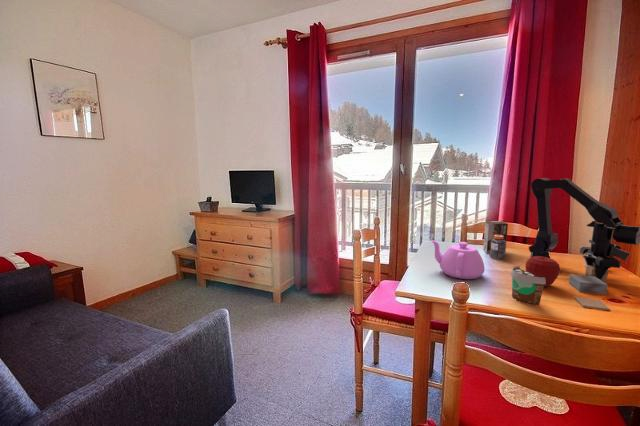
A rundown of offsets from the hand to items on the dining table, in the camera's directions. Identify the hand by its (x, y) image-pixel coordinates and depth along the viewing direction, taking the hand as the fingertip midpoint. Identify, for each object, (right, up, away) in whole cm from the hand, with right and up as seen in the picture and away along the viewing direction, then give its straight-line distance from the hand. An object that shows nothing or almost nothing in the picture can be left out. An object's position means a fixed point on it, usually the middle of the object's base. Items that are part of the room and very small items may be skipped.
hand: (595, 277), depth 122 cm
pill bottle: (-23, +3, +28) cm, 37 cm away
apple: (-26, -2, -5) cm, 26 cm away
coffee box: (-19, +5, +38) cm, 43 cm away
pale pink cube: (+11, +1, +13) cm, 17 cm away
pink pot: (-53, 0, +8) cm, 53 cm away
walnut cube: (0, -1, 0) cm, 1 cm away
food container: (-41, -4, -17) cm, 45 cm away
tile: (-20, -5, -21) cm, 29 cm away
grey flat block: (-11, -3, -8) cm, 14 cm away
